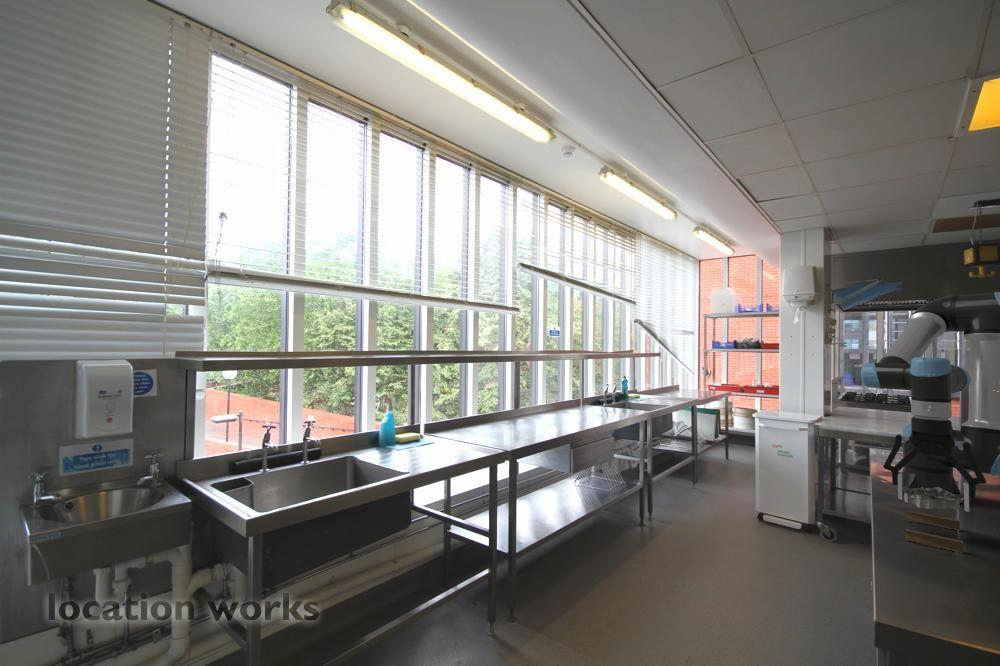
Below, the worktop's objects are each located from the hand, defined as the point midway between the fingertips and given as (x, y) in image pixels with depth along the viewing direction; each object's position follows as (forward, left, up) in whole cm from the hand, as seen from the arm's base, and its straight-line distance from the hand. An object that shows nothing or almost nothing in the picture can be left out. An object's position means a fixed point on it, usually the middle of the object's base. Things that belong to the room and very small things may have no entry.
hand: (932, 504), depth 115 cm
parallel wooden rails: (0, 0, -8) cm, 8 cm away
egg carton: (0, -1, -1) cm, 1 cm away
